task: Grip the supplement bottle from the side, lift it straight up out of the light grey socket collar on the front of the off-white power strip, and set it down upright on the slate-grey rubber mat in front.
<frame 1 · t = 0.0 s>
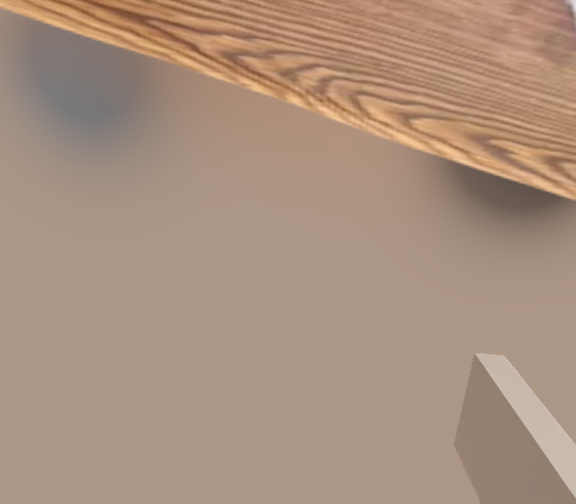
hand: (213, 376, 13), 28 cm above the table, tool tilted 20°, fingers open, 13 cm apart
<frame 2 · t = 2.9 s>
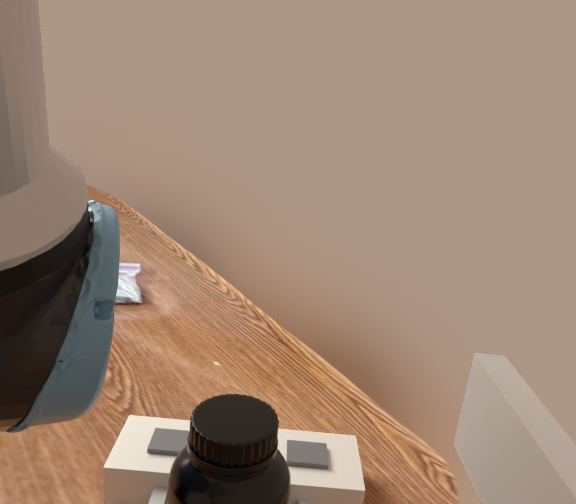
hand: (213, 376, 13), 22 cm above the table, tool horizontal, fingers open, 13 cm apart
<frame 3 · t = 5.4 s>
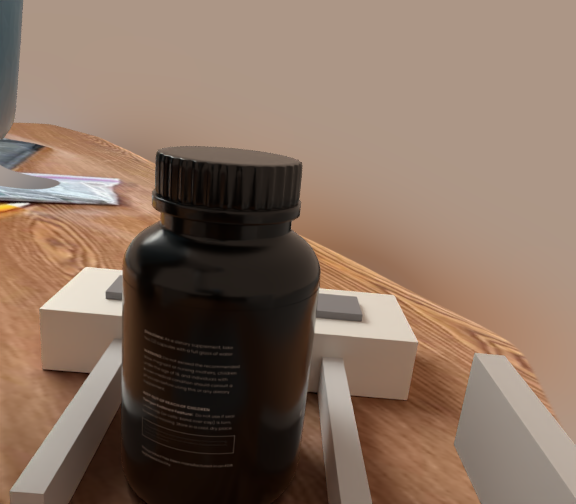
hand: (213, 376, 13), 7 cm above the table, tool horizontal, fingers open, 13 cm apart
power strip dock: (211, 460, 21), on the table
supplement bottle: (211, 465, 21), on the table
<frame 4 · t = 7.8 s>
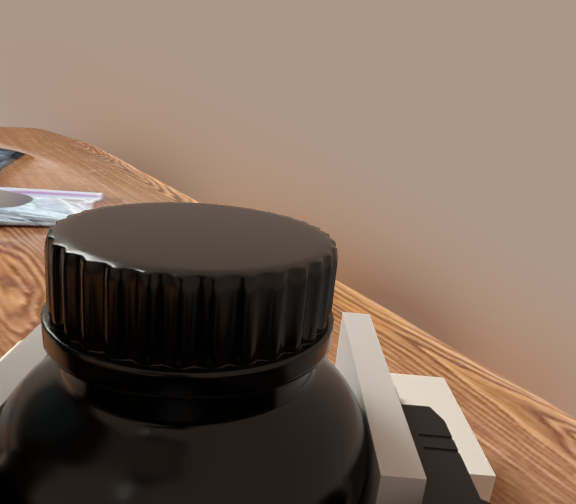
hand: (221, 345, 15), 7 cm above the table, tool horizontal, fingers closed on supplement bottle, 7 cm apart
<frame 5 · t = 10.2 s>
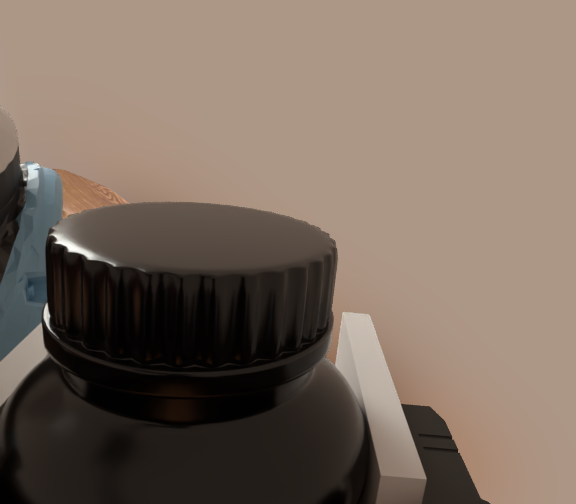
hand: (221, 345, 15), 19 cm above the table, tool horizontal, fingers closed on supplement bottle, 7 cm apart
when the fingers open (9 cm above the table, at t = 12.8 s): supplement bottle drops 1 cm, resting on rubber mat.
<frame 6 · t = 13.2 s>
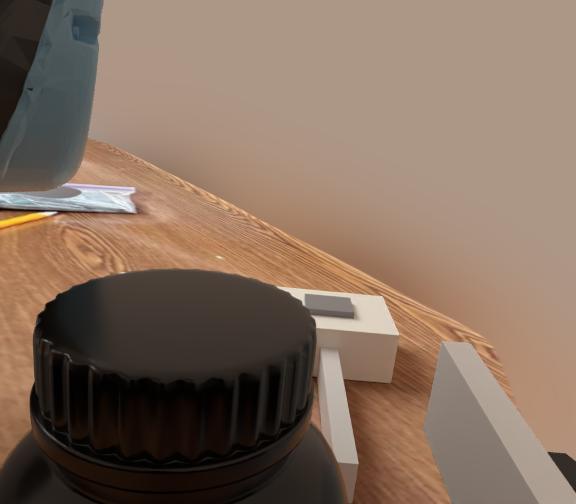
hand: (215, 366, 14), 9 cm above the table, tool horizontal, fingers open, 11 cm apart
power strip dock: (232, 426, 26), on the table
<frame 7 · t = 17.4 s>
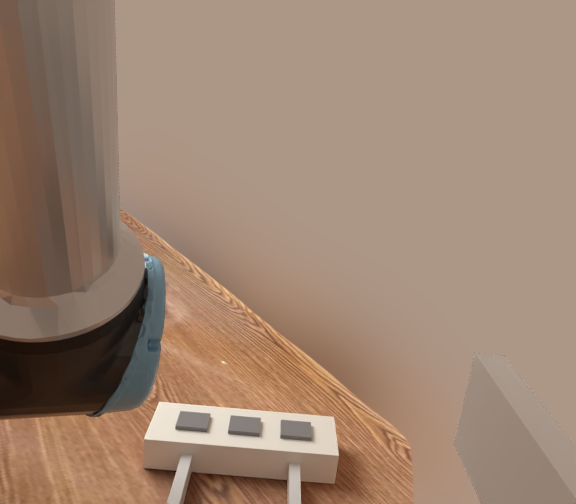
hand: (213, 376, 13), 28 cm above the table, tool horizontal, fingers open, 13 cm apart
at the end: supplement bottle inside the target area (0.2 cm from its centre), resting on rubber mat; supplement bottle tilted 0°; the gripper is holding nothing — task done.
